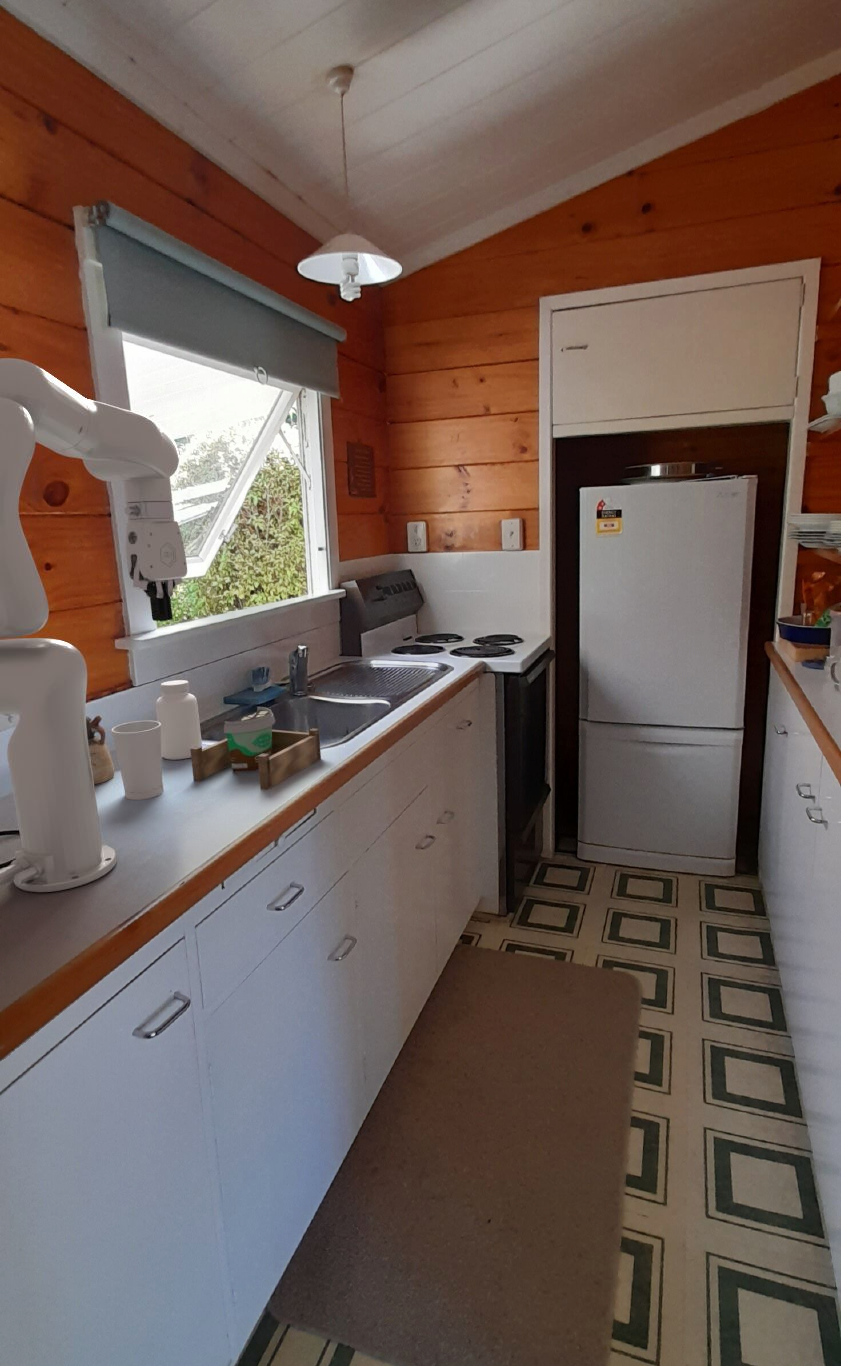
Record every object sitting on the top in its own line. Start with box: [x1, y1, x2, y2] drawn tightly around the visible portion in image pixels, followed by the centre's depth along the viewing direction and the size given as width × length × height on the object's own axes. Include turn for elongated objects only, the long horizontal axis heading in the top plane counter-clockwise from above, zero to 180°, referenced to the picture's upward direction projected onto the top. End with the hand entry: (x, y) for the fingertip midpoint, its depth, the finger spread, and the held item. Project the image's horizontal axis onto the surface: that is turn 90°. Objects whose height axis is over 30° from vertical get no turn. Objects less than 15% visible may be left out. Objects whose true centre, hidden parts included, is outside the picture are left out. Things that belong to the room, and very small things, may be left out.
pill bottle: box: [155, 679, 203, 761], centre depth 148 cm, size 8×8×15 cm
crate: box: [190, 728, 322, 791], centre depth 138 cm, size 18×16×6 cm
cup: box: [111, 720, 164, 801], centre depth 127 cm, size 8×8×12 cm
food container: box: [223, 706, 276, 773], centre depth 140 cm, size 12×6×10 cm, turn 161°
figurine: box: [86, 715, 115, 785], centre depth 136 cm, size 7×7×12 cm
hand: (162, 619), depth 130 cm, fingers closed
